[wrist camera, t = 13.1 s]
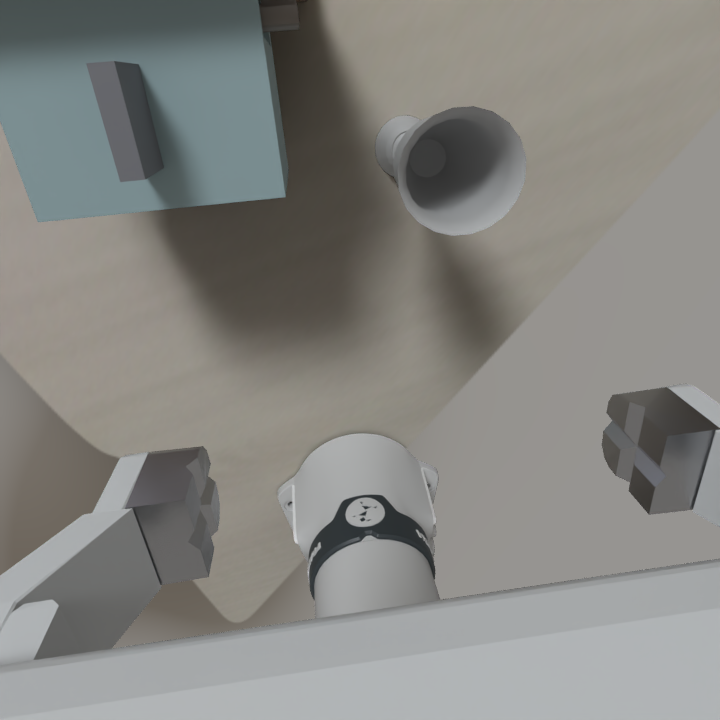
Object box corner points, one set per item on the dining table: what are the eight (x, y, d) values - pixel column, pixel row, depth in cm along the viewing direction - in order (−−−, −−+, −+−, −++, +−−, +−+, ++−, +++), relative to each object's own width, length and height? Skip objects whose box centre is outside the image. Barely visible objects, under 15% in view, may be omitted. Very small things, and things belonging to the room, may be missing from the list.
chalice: (451, 108, 44) (539, 112, 28) (439, 191, 47) (512, 239, 31) (365, 99, 43) (405, 99, 27) (358, 185, 46) (390, 231, 30)
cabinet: (288, 169, 40) (284, 212, 26) (102, 188, 39) (2, 241, 26) (264, -10, 34) (243, -69, 21) (47, 7, 33) (-115, -43, 20)
